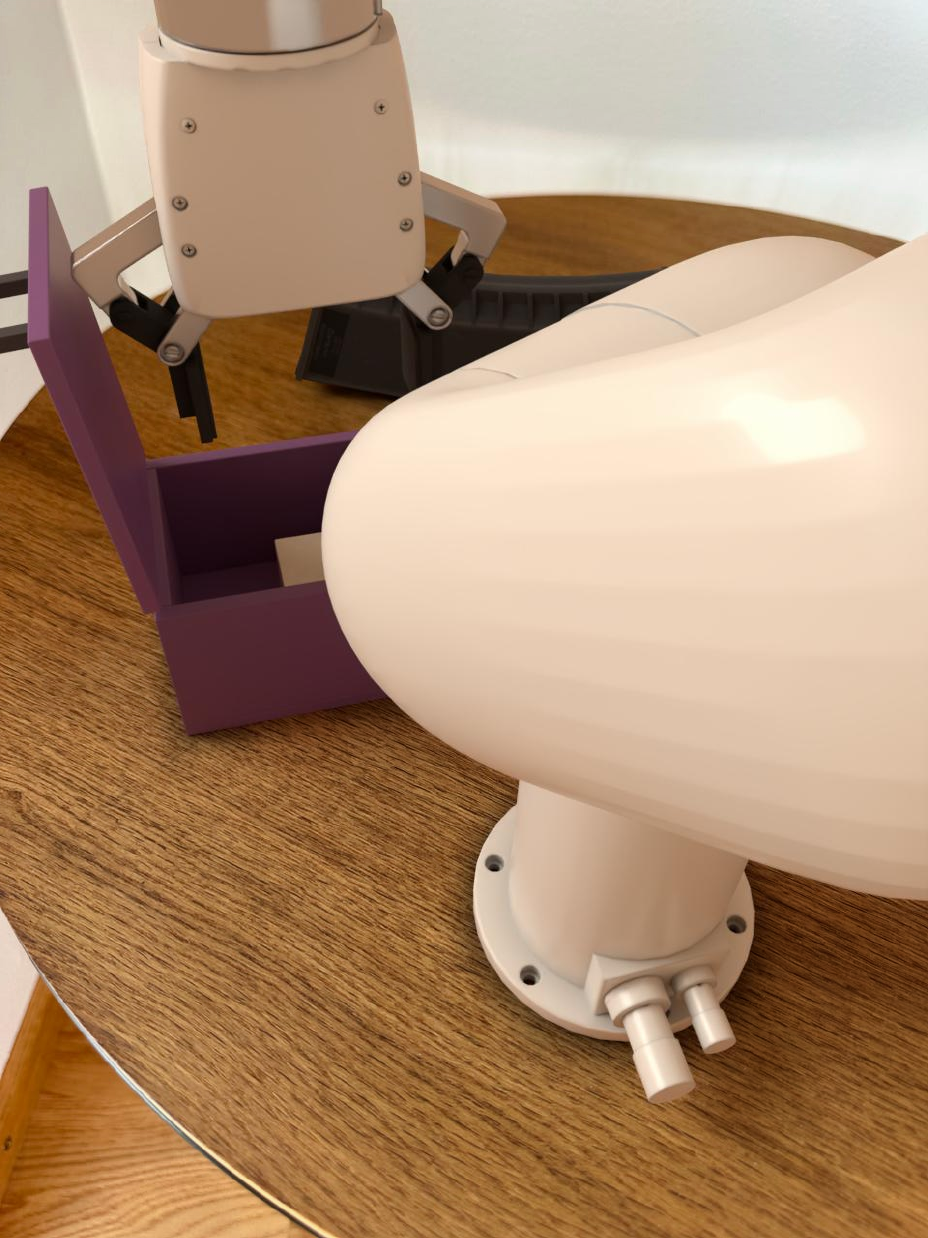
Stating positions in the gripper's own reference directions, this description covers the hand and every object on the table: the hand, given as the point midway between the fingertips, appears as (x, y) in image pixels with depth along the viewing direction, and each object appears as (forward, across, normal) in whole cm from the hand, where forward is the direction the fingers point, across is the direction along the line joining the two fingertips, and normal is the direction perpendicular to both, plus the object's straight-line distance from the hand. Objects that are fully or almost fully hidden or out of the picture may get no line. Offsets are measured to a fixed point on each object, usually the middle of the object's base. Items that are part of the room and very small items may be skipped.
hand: (314, 408), depth 49 cm
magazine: (+15, -16, -19) cm, 29 cm away
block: (+14, 0, -1) cm, 15 cm away
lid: (-1, +9, -1) cm, 9 cm away
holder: (+15, +2, -1) cm, 15 cm away
